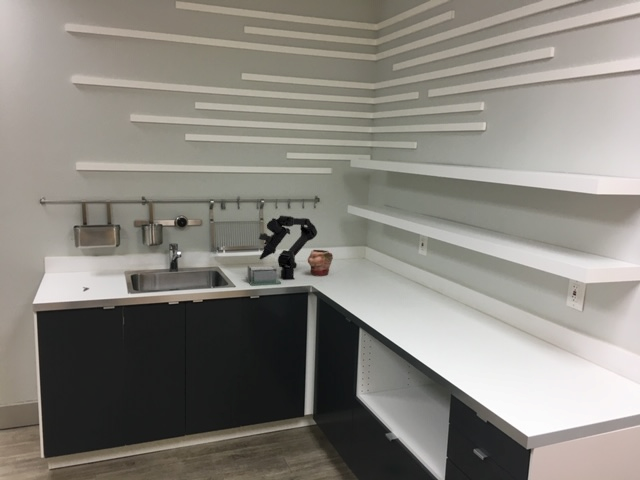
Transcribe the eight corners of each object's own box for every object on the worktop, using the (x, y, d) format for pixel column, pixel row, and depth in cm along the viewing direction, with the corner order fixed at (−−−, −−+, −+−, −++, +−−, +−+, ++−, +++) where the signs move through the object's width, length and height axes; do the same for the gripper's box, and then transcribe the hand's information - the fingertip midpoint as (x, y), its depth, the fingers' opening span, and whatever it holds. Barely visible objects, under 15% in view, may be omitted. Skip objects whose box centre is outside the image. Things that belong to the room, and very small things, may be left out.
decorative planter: (322, 269, 315) (323, 247, 313) (338, 272, 308) (339, 249, 306) (302, 275, 299) (302, 251, 297) (319, 278, 292) (319, 254, 290)
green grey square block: (273, 277, 292) (273, 262, 290) (281, 284, 277) (281, 268, 276) (245, 278, 286) (245, 263, 285) (251, 285, 272) (251, 270, 270)
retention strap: (273, 268, 285) (273, 267, 284) (275, 269, 281) (275, 268, 281) (249, 268, 280) (249, 267, 280) (251, 269, 276) (251, 268, 276)
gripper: (265, 226, 289) (248, 248, 289) (266, 228, 270) (248, 251, 270) (281, 238, 291) (264, 260, 290) (283, 241, 272) (265, 264, 272)
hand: (260, 259), depth 281 cm, fingers closed
